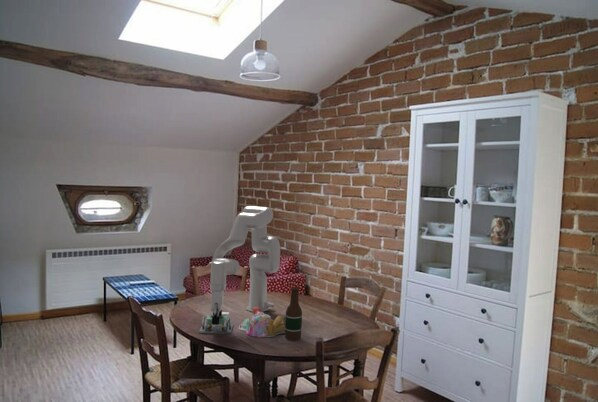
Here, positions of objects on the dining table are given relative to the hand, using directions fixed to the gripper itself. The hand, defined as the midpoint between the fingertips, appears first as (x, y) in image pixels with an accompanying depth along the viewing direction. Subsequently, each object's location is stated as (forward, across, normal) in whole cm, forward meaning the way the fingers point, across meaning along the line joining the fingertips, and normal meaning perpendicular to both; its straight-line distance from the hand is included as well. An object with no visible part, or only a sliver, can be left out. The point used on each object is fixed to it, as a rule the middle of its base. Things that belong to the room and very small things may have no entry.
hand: (216, 321), depth 218 cm
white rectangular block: (+4, -15, 0) cm, 16 cm away
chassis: (+4, 0, 0) cm, 4 cm away
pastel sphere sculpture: (+5, -2, +22) cm, 23 cm away
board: (+1, 0, 0) cm, 1 cm away
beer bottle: (+4, +9, +37) cm, 38 cm away
